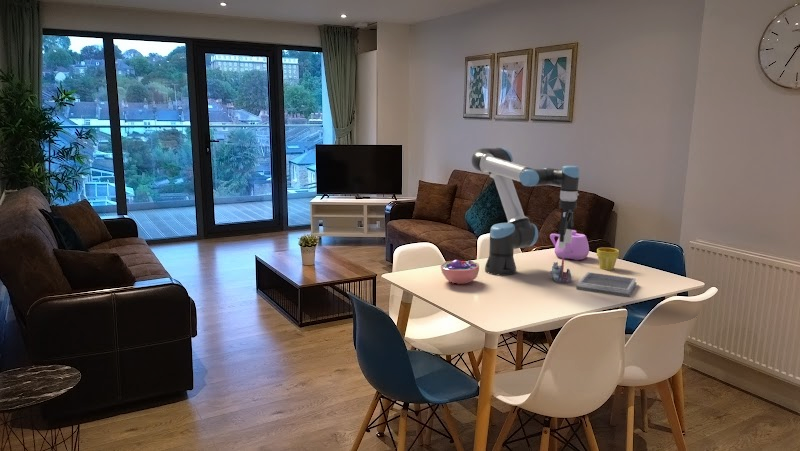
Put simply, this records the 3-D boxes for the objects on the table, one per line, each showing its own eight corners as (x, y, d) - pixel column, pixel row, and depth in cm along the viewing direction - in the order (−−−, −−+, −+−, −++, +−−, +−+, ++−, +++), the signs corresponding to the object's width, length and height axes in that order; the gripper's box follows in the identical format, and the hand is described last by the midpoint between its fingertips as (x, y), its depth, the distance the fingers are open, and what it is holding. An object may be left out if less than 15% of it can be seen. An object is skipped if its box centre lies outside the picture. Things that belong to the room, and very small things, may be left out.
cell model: (487, 281, 259) (488, 257, 257) (461, 290, 244) (462, 265, 242) (457, 275, 270) (458, 251, 268) (431, 283, 255) (432, 258, 253)
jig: (576, 289, 249) (576, 282, 249) (586, 277, 268) (587, 271, 268) (629, 297, 239) (629, 290, 238) (636, 284, 258) (636, 278, 257)
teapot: (553, 251, 322) (554, 226, 320) (591, 256, 312) (593, 230, 309) (540, 259, 303) (542, 232, 301) (580, 265, 293) (583, 236, 290)
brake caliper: (578, 280, 255) (562, 258, 255) (557, 292, 258) (541, 271, 258) (576, 273, 266) (561, 253, 266) (556, 286, 269) (541, 265, 269)
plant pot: (607, 272, 280) (609, 252, 278) (591, 267, 288) (592, 248, 287) (621, 269, 285) (623, 250, 283) (605, 265, 294) (606, 246, 292)
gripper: (571, 204, 243) (567, 252, 247) (582, 197, 265) (578, 241, 269) (553, 202, 247) (550, 249, 251) (566, 196, 268) (562, 239, 272)
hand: (564, 245), depth 260 cm, fingers open, 13 cm apart
